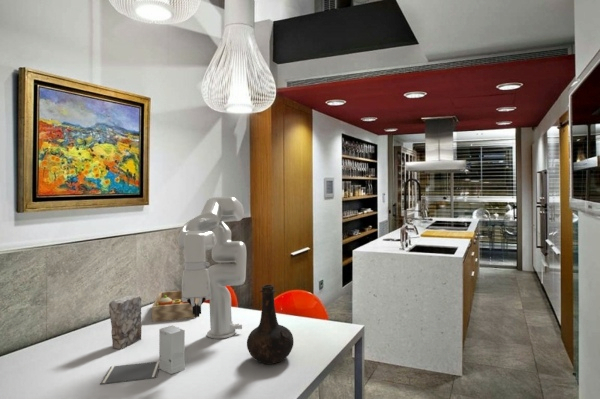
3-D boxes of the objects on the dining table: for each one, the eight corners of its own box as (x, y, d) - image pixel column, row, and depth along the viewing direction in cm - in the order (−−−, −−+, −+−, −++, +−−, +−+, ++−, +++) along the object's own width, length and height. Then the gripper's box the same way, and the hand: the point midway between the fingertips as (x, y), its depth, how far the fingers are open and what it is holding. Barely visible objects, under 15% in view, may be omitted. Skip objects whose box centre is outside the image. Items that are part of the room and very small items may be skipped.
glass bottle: (276, 372, 144) (273, 293, 144) (237, 363, 154) (234, 288, 153) (303, 355, 159) (300, 283, 159) (266, 347, 169) (263, 279, 168)
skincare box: (159, 369, 151) (157, 328, 150) (173, 363, 155) (171, 324, 155) (171, 375, 145) (170, 333, 145) (186, 369, 150) (184, 328, 150)
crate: (199, 301, 245) (198, 289, 244) (197, 317, 213) (196, 302, 213) (160, 305, 240) (160, 292, 240) (152, 321, 209) (151, 306, 209)
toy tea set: (181, 317, 213) (181, 298, 213) (153, 316, 215) (153, 297, 215) (201, 303, 239) (201, 287, 239) (176, 303, 241) (175, 286, 241)
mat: (161, 362, 157) (161, 360, 157) (155, 377, 143) (155, 376, 143) (110, 367, 154) (110, 366, 154) (100, 384, 140) (100, 383, 140)
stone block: (124, 350, 171) (122, 302, 171) (110, 349, 173) (108, 301, 172) (144, 338, 184) (142, 294, 183) (130, 338, 185) (128, 293, 185)
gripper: (216, 263, 157) (217, 311, 157) (175, 266, 154) (176, 315, 154) (216, 266, 149) (217, 317, 149) (173, 269, 146) (174, 320, 146)
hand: (197, 316), depth 151 cm, fingers closed
